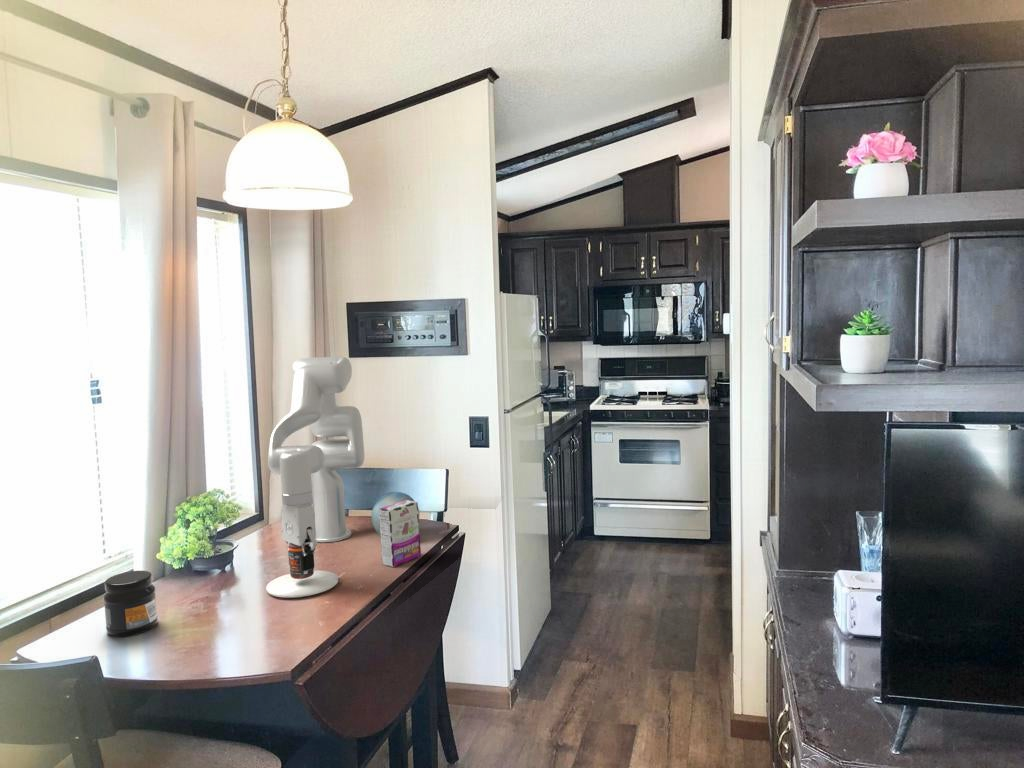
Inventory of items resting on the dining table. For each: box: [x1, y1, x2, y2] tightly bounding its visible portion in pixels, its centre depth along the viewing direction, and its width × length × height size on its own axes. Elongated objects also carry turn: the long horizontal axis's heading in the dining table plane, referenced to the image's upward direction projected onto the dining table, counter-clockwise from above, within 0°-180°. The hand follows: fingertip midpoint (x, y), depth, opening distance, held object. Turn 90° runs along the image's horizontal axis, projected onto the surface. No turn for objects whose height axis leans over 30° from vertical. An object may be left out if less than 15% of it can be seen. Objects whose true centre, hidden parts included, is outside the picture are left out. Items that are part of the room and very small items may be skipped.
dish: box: [265, 569, 339, 599], centre depth 186 cm, size 18×18×1 cm
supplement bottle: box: [288, 540, 315, 579], centre depth 186 cm, size 6×6×11 cm
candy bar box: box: [379, 500, 422, 568], centre depth 203 cm, size 11×5×16 cm, turn 143°
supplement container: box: [102, 570, 159, 637], centre depth 163 cm, size 10×10×12 cm
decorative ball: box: [371, 491, 421, 536], centre depth 225 cm, size 15×15×15 cm
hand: (301, 566), depth 186 cm, fingers closed on supplement bottle, 6 cm apart
